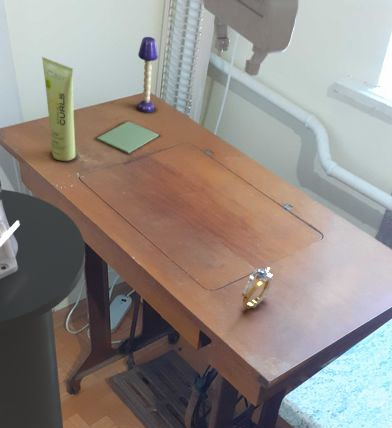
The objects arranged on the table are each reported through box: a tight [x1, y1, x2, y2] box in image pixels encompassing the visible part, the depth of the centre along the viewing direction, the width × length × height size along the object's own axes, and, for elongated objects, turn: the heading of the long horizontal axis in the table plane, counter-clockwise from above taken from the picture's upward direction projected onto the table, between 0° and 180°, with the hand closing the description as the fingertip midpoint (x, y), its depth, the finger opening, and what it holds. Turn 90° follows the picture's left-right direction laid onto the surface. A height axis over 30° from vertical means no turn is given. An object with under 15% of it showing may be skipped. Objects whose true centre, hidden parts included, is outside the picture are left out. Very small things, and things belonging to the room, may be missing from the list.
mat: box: [97, 120, 159, 154], centre depth 127 cm, size 12×9×1 cm
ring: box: [240, 267, 275, 310], centre depth 91 cm, size 7×3×8 cm, turn 131°
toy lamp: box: [137, 36, 159, 114], centre depth 132 cm, size 5×5×17 cm
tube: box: [41, 56, 76, 162], centre depth 111 cm, size 6×5×20 cm
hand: (235, 61), depth 87 cm, fingers open, 8 cm apart
